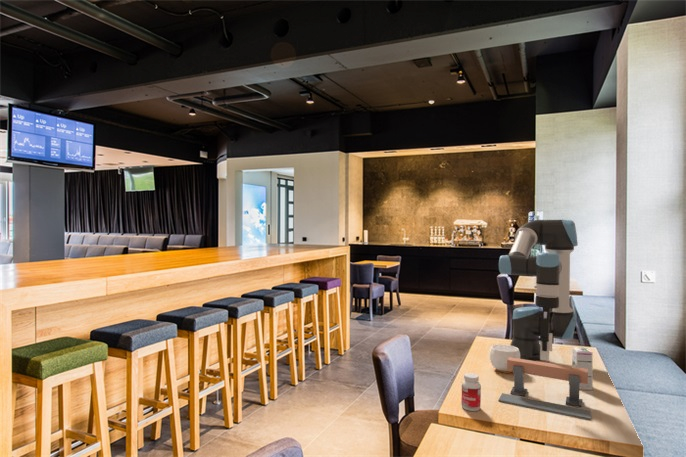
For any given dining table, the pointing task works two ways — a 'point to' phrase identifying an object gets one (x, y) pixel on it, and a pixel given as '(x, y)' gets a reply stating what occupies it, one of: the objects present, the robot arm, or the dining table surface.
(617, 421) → the dining table surface
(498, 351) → the cup
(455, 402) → the dining table surface
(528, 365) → the rail
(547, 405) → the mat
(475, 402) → the pill bottle
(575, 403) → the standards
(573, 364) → the syrup box
